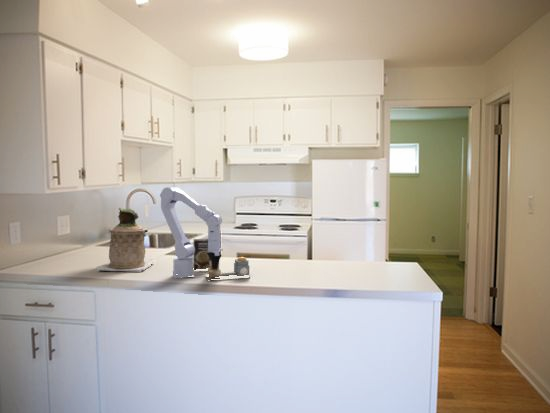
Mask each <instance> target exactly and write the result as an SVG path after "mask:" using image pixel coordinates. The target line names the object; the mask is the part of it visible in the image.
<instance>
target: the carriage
mask: <svg viewBox="0 0 550 413" xmlns="http://www.w3.org/2000/svg"><path fill="white" fill-rule="evenodd" d="M221 272H222V270H221V269H220V262H219V263H218V268H217V269H213V268H212V262H211V260H210V268H208V271H207V274H209V273H210V276H214V275H221Z"/></svg>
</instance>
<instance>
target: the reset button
mask: <svg viewBox="0 0 550 413" xmlns="http://www.w3.org/2000/svg"><path fill="white" fill-rule="evenodd" d="M237 259H238V261H245V259H246V257H244V256H239V257H237Z"/></svg>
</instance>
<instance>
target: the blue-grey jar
mask: <svg viewBox="0 0 550 413" xmlns="http://www.w3.org/2000/svg"><path fill="white" fill-rule="evenodd" d="M233 271H235V272H236V275H237V276H244V275H249V276H250V264H249V260H248V259H247V258H245V261H238V258H235V259H234V262H233Z"/></svg>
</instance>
